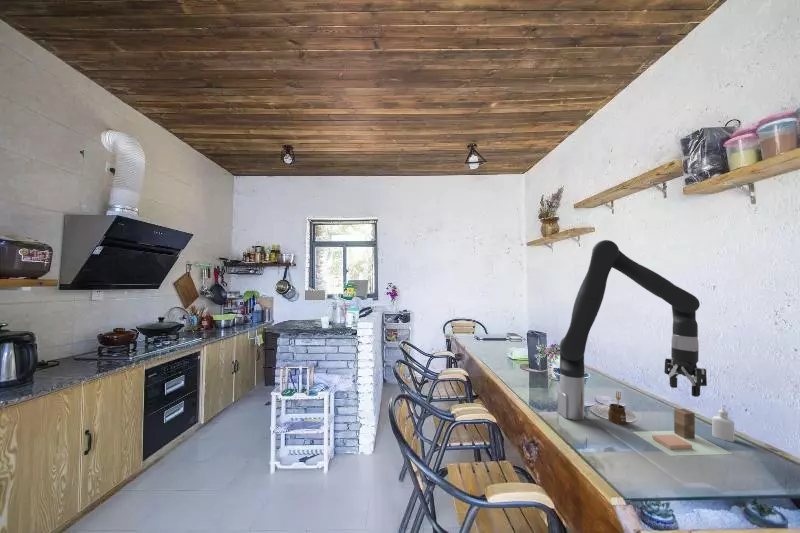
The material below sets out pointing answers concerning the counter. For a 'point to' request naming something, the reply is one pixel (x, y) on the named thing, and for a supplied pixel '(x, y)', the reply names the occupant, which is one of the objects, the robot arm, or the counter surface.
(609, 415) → the utensil holder
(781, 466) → the counter surface
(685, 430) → the block
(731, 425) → the eye dropper bottle
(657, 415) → the counter surface
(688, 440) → the mat
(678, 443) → the tile
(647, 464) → the counter surface
